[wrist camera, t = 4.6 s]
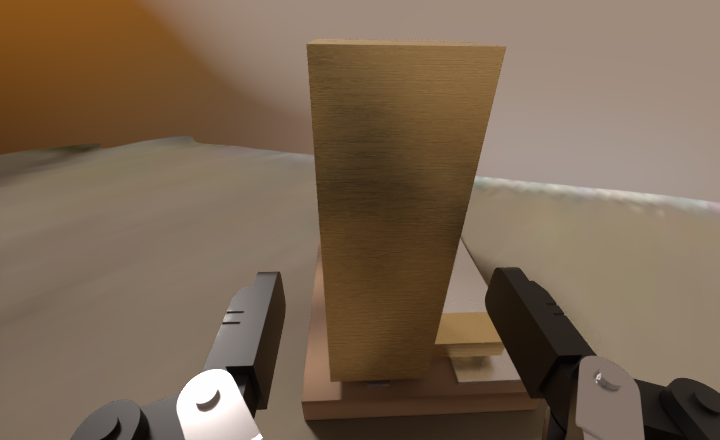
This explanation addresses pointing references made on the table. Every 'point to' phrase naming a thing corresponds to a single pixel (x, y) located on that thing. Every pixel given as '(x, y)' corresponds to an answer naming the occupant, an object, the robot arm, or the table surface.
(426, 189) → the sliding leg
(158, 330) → the table surface
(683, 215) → the table surface
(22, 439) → the table surface
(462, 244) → the divider base
